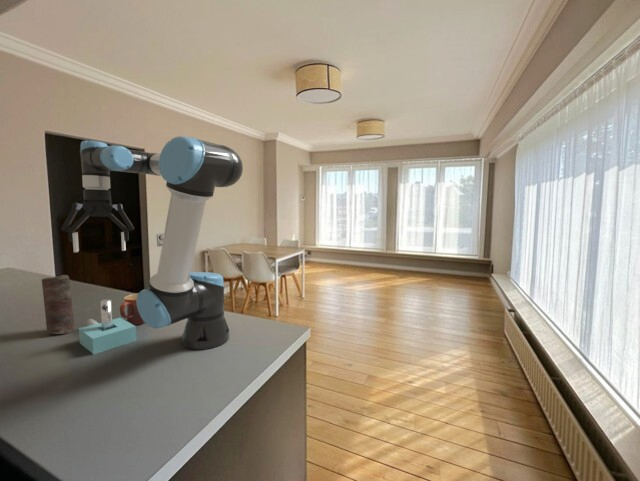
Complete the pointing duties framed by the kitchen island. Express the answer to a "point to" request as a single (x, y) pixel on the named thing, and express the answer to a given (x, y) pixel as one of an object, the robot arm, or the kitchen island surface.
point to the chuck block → (106, 335)
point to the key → (106, 314)
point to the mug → (131, 310)
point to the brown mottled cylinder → (58, 305)
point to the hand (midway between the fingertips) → (100, 251)
